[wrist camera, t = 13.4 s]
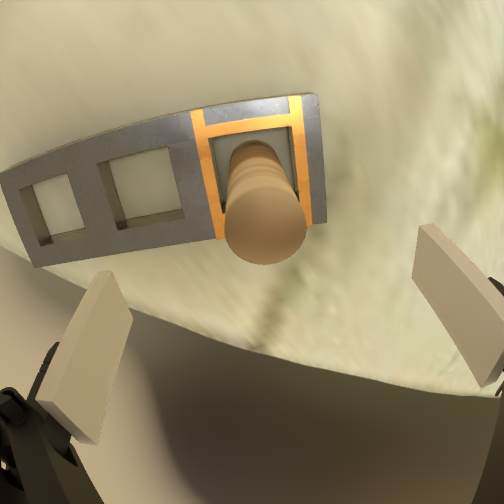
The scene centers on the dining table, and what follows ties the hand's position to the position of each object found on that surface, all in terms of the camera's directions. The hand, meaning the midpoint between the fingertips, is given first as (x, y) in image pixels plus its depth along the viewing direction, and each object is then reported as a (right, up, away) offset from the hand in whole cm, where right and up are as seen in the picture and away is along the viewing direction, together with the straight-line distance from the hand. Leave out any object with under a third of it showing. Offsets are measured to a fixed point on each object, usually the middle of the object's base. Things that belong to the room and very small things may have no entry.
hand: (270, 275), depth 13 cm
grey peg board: (-11, +8, +17) cm, 21 cm away
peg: (-1, +9, +16) cm, 19 cm away
